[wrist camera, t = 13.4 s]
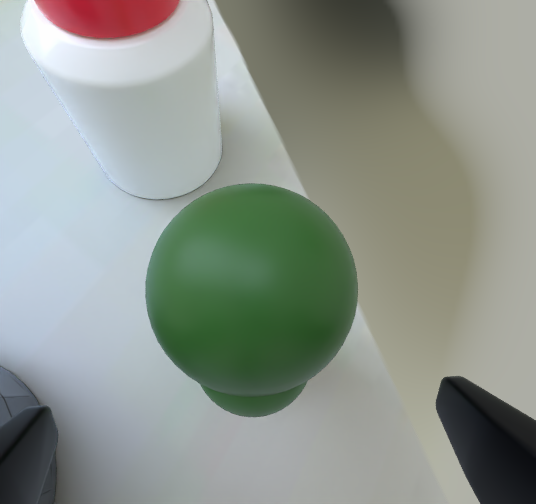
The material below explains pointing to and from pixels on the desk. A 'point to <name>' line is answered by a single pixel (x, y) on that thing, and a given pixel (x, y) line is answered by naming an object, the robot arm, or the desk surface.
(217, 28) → the desk surface
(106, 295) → the desk surface
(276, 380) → the broccoli
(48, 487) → the pan
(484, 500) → the robot arm
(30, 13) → the pill bottle
